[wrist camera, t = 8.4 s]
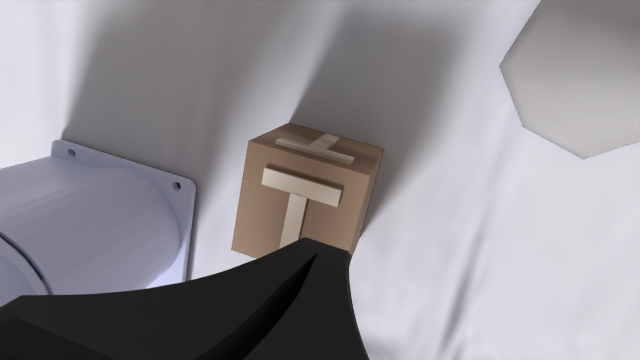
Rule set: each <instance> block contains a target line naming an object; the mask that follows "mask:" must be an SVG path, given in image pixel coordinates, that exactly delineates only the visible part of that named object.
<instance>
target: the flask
mask: <svg viewBox="0 0 640 360" xmlns="http://www.w3.org/2000/svg"><path fill="white" fill-rule="evenodd" d="M499 67H500V69H501V72H502V74H503V77H504V80H505V82H506V85H507V87H508V90H509V92H510V95H511V97H512V100H513V103H514V105H515V108H516V110H517V113H518V115H519V118H520V121H521V123H522V126H523V127H524V128H526V129H528V130H530V131H531V132H533V133H535V134H537V135H539V136H541V137H543V138H545V139H546V140H548V141H550V142H552V143H554V144H556V145H558V146H559V147H561V148H563V149H565V150H567V151H569V152H571V153H573V154H574V155H576V156H578V157H580V158H582V159H586V158H590V157H593V156H596V155H599V154H602V153H605V152H608V151H611V150H614V149H617V148H620V147H623V146H627V145H630V144H634V143H638V142H640V0H541V2H540V3H539V5H538V6H537V8H536V10H535V11H534V13H533V14H532V16H531V17H530V19H529V20H528V22H527V24H526V25H525V27H524V28H523V30H522V31H521V33H520V34H519V36H518V37H517V39H516V41H515V42H514V44H513V45H512V47H511V48H510V50H509V51H508V53H507V55H506V56H505V58H504V59H503V61H502V62H501V64H500V65H499Z"/></svg>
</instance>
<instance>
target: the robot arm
mask: <svg viewBox="0 0 640 360" xmlns="http://www.w3.org/2000/svg"><path fill="white" fill-rule="evenodd" d="M73 150H74V151H75V154H74V152H73ZM177 182H178V183H179V184H180V185H181V189H180V188H178V186H177ZM195 194H196V186H195V183H194V182H193V181H192V180H190V179H188V178H185V177H181V176H178V175H175V174H172V173H168V172H165V171H162V170H159V169H156V168H152V167H149V166H146V165H143V164H139V163H136V162H133V161H130V160H127V159H123V158H120V157H117V156H114V155H110V154H107V153H104V152H101V151H98V150H94V149H91V148H88V147H85V146H81V145H78V144H75V143H72V142H69V141H65V140H61V139H59V140H55V141H53V142H52V145H51V156H49V157H45V158H41V159H38V160H34V161H30V162H26V163H22V164H18V165H14V166H10V167H6V168H2V169H0V360H369V358H368V355H367V353H366V350H365V347H364V344H363V342H362V339H361V336H360V333H359V329H358V326H357V322H356V318H355V314H354V309H353V304H352V299H351V291H350V283H349V265H350V261H351V258H352V256H351V254H350V252H349V251H347V250H344V249H340V248H337V247H334V246H331V245H328V244H325V243H322V242H319V241H316V240H313V239H310V238H307V237H303V238H301V239H299V240H297V241H295V242H293V243H291V244H289V245H286V246H284V247H282V248H280V249H278V250H276V251H274V252H271V253H269V254H267V255H265V256H263V257H260V258H258V259H255V260H253V261H250V262H248V263H245V264H242V265H240V266H237V267H234V268H232V269H229V270H226V271H223V272H220V273H216V274H213V275H210V276H206V277H202V278H198V279H194V280H190V281H186V282H185V279H186V270H187V262H188V253H189V245H190V236H191V228H192V219H193V211H194V202H195Z"/></svg>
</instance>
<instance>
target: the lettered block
mask: <svg viewBox="0 0 640 360" xmlns="http://www.w3.org/2000/svg"><path fill="white" fill-rule="evenodd" d="M383 151H384V149H383V148H379V147H376V146H372V145H368V144H365V143H361V142H357V141H354V140H350V139H346V138H342V137H339V136H335V135H331V134H328V133H324V132H320V131H317V130H313V129H309V128H306V127H302V126H298V125H295V124H291V123H287V124H285V125H283V126H281V127H278V128H276V129H274V130H272V131H270V132H267V133H265V134H263V135H261V136H259V137H256V138H254V139H252V140H250V141H248V147H247V153H246V160H245V166H244V172H243V179H242V185H241V191H240V198H239V204H238V210H237V216H236V223H235V229H234V235H233V242H232V248H231V250H233V251H236V252H239V253H242V254H245V255H248V256H251V257H254V258H257V259H258V258H260V257H263V256H265V255H267V254H269V253H271V252H274V251H276V250H278V249H280V248H282V247H284V246H286V245H289V244H291V243H293V242H295V241H297V240H299V239H301V238H303V237H307V238H310V239H313V240H316V241H319V242H322V243H325V244H328V245H331V246H334V247H337V248H340V249H344V250H347V251H349V252H350V254H351V256H353V253H354V251H355V248H356V246H357V243H358V241H359V238H360V235H361V231H362V227H363V224H364V220H365V216H366V213H367V209H368V206H369V202H370V198H371V195H372V191H373V187H374V184H375V180H376V176H377V173H378V169H379V166H380V162H381V158H382V155H383Z"/></svg>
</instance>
